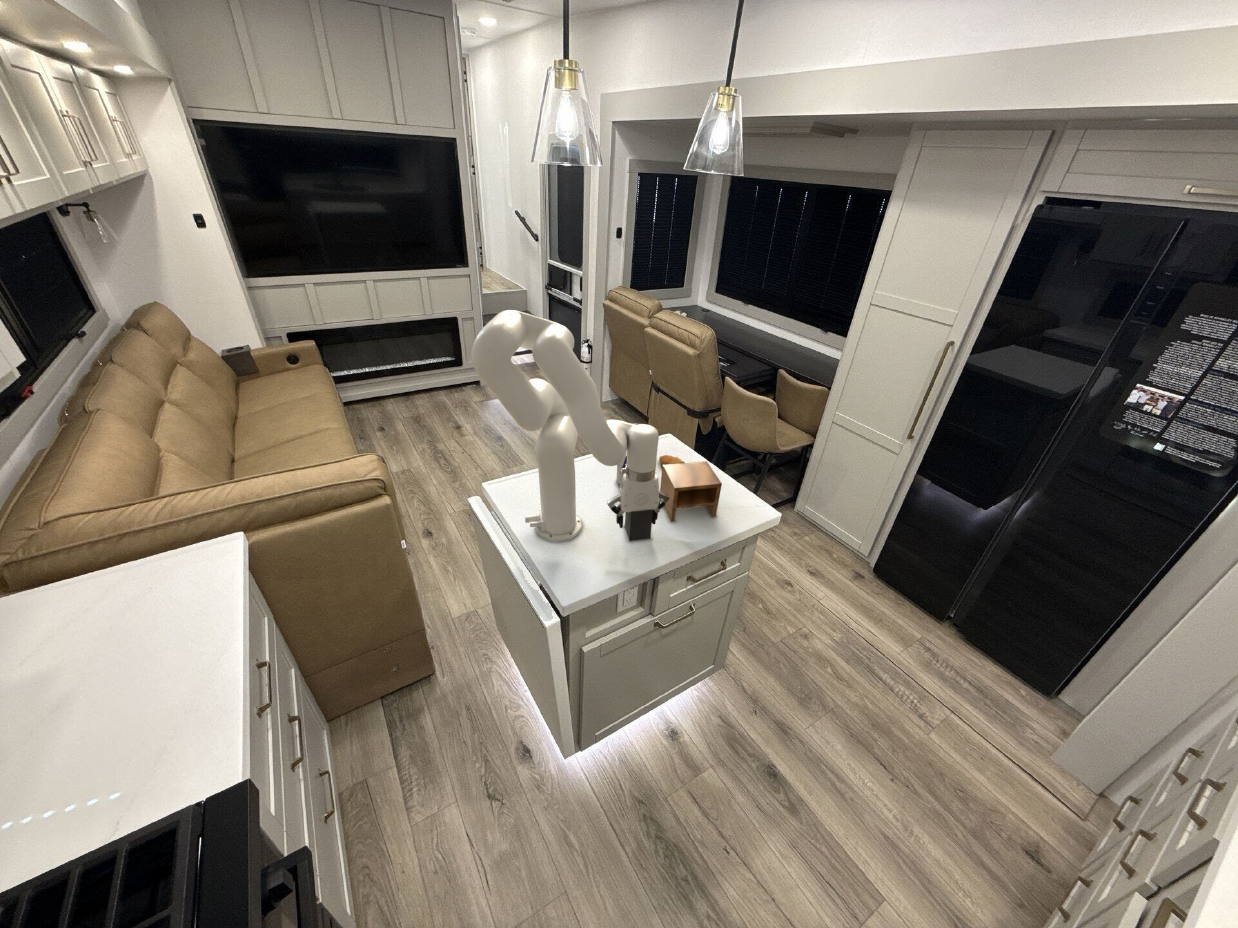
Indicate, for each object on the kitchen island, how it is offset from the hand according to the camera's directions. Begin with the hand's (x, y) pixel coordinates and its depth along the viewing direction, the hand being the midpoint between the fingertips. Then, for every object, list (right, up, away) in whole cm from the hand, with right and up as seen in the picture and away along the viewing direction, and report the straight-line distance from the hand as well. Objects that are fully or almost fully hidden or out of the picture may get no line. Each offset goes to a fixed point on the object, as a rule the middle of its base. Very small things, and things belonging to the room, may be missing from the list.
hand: (636, 522), depth 133 cm
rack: (+16, +3, +13) cm, 21 cm away
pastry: (+13, +15, +31) cm, 37 cm away
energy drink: (-3, +10, +22) cm, 24 cm away
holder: (0, -3, +2) cm, 3 cm away
